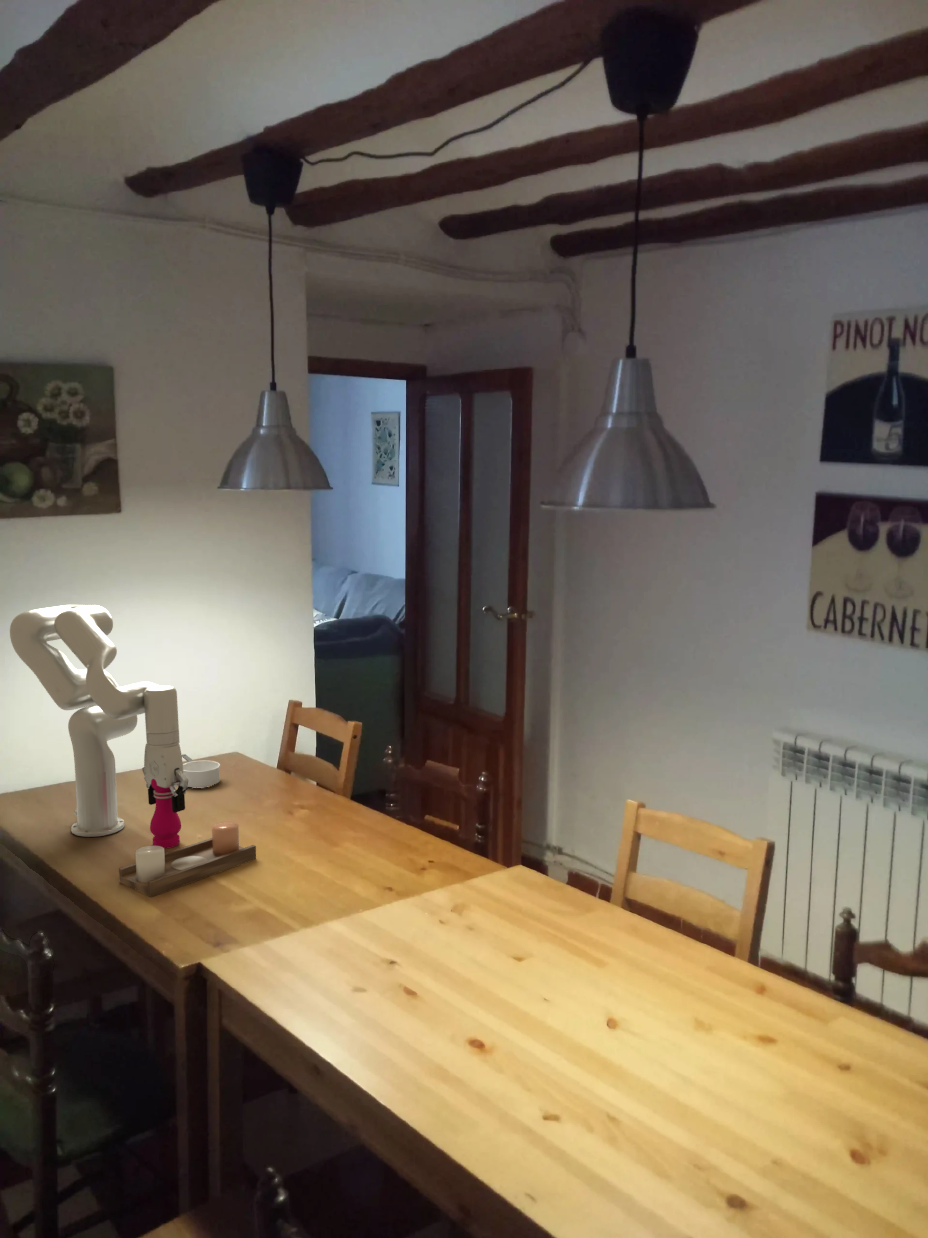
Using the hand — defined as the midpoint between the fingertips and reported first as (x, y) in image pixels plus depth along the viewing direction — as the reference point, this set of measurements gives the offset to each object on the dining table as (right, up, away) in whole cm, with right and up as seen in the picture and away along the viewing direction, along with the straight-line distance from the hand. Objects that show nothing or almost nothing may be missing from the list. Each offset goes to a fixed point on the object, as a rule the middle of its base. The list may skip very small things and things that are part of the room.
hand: (166, 807), depth 240 cm
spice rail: (+9, -12, -14) cm, 21 cm away
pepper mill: (-1, -9, +2) cm, 10 cm away
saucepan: (-7, -2, +52) cm, 52 cm away
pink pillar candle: (+16, -9, -7) cm, 19 cm away
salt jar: (+3, -11, -22) cm, 25 cm away
